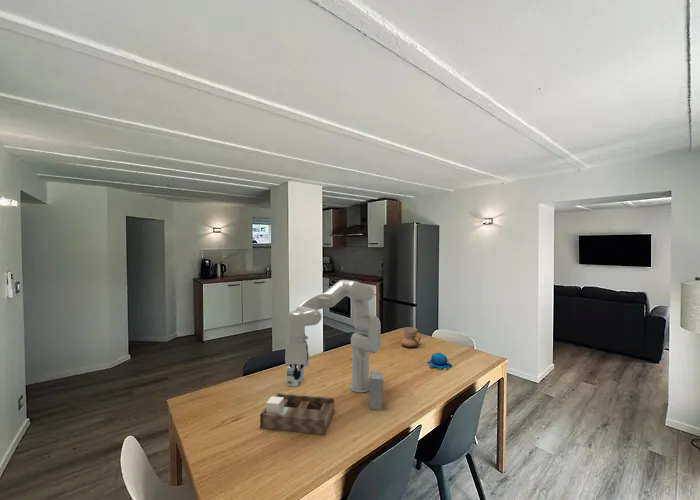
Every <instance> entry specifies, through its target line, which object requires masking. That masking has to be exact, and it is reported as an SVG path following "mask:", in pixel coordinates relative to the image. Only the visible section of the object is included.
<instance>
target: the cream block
mask: <svg viewBox="0 0 700 500" xmlns="http://www.w3.org/2000/svg"><path fill="white" fill-rule="evenodd" d="M265 408H266V413H269V414H279V415H281V414H282V412H283V411H284V397H275V396H272V395H271V397H270V398H268V399H267V401H266V402H265Z"/></svg>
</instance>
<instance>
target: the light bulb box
mask: <svg viewBox="0 0 700 500" xmlns="http://www.w3.org/2000/svg"><path fill="white" fill-rule="evenodd" d="M296 366H297V368H298V364H296ZM304 368H305V367H303V368H302V369H301V376H300V378H299V379H298V380H294V377H293V370H292V368H291V367H290V366H287V367H286V386H287V387H294V388H298V386H299V385H300V384H302V382H304V370H305V369H304Z"/></svg>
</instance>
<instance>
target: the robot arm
mask: <svg viewBox="0 0 700 500" xmlns="http://www.w3.org/2000/svg"><path fill="white" fill-rule="evenodd" d="M345 297H348V298H349V299H350V301H351V302H352V303H353V326H354V328H355V329H356V330H358V331H357V332H356V331H355V332H354V333H352V334H351V337H350V346H351V352H352V353H351V354H352V363H351V364H352V367H351V368H352V369H351V370H352V375H351V376H352V377H351V380H352V381H351V383H349V389H350V391H352V392H354V393H360V394H361V393H369V388H370V355H369V353H370V354H376V353H378V351H380V347H381V337H382V336H381V335H382V334H381V333H382V332H381V331H382V330H381V329H382V328H381V327H382V326H381V324H382V323H381V320H380V319H379V317H378V316H376V315H374V314H370V307H369V302H368V301H371V300H372V299H373V297H374V290H373V288H372V286H370V285H368V284H365V283H361V282H359V281H356V280H348V279H340V280H338V281H337V282H336V283H334V284H333V285H331V286H330V287H329V288H328V289H326V291H324V292H323V293H320V294H317V295H315V296H313V297H310V298H308V299H306V300H304V301H303V302H302V303H300V305H298V306H297V307H296V309H294V310H292V311H290V312H288V314H287V334H288V335H287V341H286V346H285V353H284V355H285V356H284V361H285V366H287V367H288V366H290V367H291V368H292V370H293V377H294V380H298V379H299V378H300V376H301V369H302V368H303V367H304V368H306V367H309V360H310V355H309V354H310V352H309V346H308V341H307V340H308V339H309V336H308V335H306V329H305V327H308V326H315V325H316V326H317V325H318V324H319V323H320V322H321V320H322V313H321V312H320V310H325V309H330V308H333V307H335V306H336V305H337V304H338V303H339V302H340V301H341V300H343V299H344V298H345ZM296 364H298V368H297V366H296Z"/></svg>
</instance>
